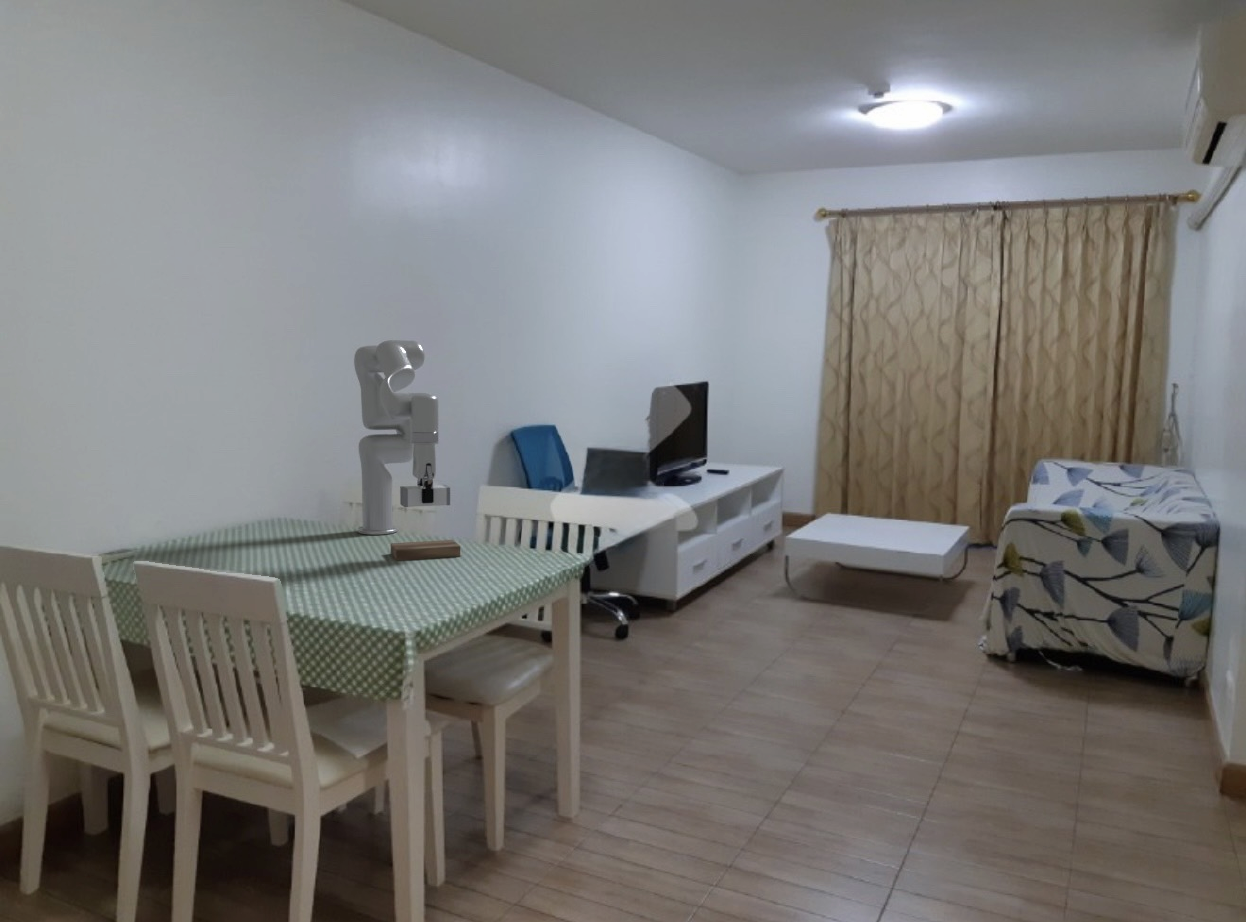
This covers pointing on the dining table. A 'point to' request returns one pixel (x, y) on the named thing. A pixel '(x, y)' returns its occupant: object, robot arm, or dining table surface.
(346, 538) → the dining table surface
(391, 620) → the dining table surface
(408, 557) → the walnut stand
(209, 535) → the dining table surface
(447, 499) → the block
